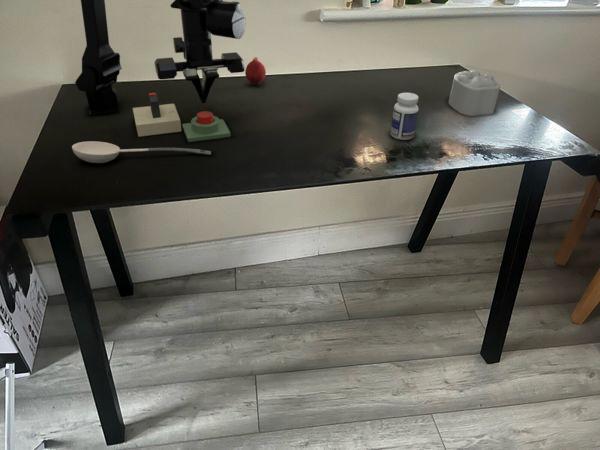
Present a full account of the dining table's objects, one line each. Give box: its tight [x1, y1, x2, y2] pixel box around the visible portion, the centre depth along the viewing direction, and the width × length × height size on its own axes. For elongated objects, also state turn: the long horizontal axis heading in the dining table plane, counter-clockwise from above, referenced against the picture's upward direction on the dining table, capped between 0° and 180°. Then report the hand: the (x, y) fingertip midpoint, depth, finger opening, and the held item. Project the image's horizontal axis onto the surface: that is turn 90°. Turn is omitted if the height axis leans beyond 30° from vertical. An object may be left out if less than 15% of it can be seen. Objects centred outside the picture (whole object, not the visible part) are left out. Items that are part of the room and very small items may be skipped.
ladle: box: [71, 140, 212, 164], centre depth 105 cm, size 6×28×5 cm, turn 101°
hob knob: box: [147, 92, 161, 118], centre depth 116 cm, size 5×2×4 cm, turn 19°
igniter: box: [181, 114, 232, 143], centre depth 116 cm, size 10×8×3 cm
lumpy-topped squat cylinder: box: [448, 69, 501, 117], centre depth 132 cm, size 10×13×9 cm
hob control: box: [132, 103, 183, 138], centre depth 118 cm, size 10×10×3 cm
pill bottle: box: [389, 92, 419, 141], centre depth 115 cm, size 6×6×10 cm
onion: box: [244, 56, 267, 86], centre depth 139 cm, size 6×6×8 cm
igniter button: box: [196, 110, 214, 125], centre depth 114 cm, size 4×4×2 cm
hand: (203, 102), depth 112 cm, fingers closed
